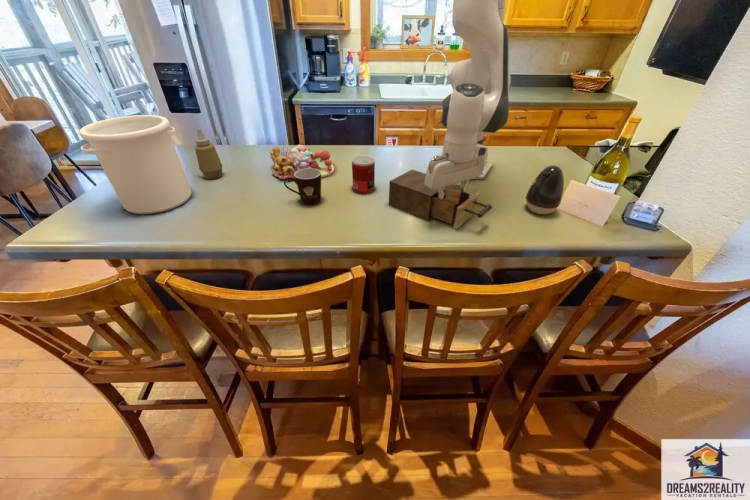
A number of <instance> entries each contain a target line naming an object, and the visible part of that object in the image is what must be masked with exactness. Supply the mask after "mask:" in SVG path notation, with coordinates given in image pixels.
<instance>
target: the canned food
mask: <svg viewBox="0 0 750 500" xmlns="http://www.w3.org/2000/svg"><path fill="white" fill-rule="evenodd" d="M375 163H376V162H375V159H374V158H373V157H371V156H365V155H364V156H363V155H360V156H356V157H353V158H352V159H351V174H352V175H351V176H352V189H353V191H354V192H355V193H357V194H363V195H365V194H370V193H372V192H374V190H375V184H376V183H375V179H376V177H375V175H376V174H375V173H376V172H375V171H376V167H375Z"/></svg>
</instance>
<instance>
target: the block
mask: <svg viewBox="0 0 750 500" xmlns="http://www.w3.org/2000/svg"><path fill="white" fill-rule="evenodd" d="M444 193H446V198H445V199H443V200H445V201H447V202H450V203H453V204H459V199H460V194H461V189H460V184H458V183H456V184H453V185H449V186H446V187H445V190H444Z"/></svg>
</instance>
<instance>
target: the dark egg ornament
mask: <svg viewBox="0 0 750 500" xmlns="http://www.w3.org/2000/svg"><path fill="white" fill-rule="evenodd" d="M564 184H565V177H564V172H563V170H562V168H561V167H559V166H558V165H548V166H546V167H545V168H544V169H542V170H541V171H540V172H539V174H538V175H537V176H536V177H535V179H534V180H533V181H532V183H531V185H530V187H529V188H528V191H527V192H526V194H525V201H526V203H525V204H526V207H527V208H528V209H529V210H530V212H532V213H535V214H537V215H548V214H551V213H553V212H555V210H556V209H557V208H558V207H560V205H561V203H562V199H563V194H564V186H565V185H564Z"/></svg>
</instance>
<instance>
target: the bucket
mask: <svg viewBox="0 0 750 500" xmlns="http://www.w3.org/2000/svg"><path fill="white" fill-rule="evenodd" d="M176 133H177V131H176V128H175V127H174V126H171V123H170V121H169V120H168V118H166V117H165V116H162V115H154V114H139V115H138V114H137V115H125V116H118V117H112V118H111V117H110V118H107V119H102V120H98V121H94V122H92V123H89V124H86V125H84V126H83V127H82V128H80V129H79V135H80V137H81V139H82V140H84V141H86V143H85V144H83V145H81V146H80V150H81V152H82V154H85V155H95V157H96V158H97V160H98V162H99V164H100V166H101V168H102V169H103V171H104V173H105V175H106V177H107V179H108V181H109V183H110V185H111V187H112V188H113V190H114V192H115V194H116V197H117V198H118V200H119V202H120V203H121V205H122V207H123V209H125V210H126V211H127V212H129V213H131V214H136V215H154V214H159V213H164V212H168V211H170V210H173V209H176V208H178V207H180V206H182V205H183V204H185V203H186V202H187V201H188V200H190V198H191V196H192V190H191V186H190V184H189V180H188V179H187V176H186V173H185V171H184V168H183V165H182V162H181V159H180V157H179V154H178V152H177V149H176V147H175V144H174V140H173V138H172V136H174V135H175V134H176Z"/></svg>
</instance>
